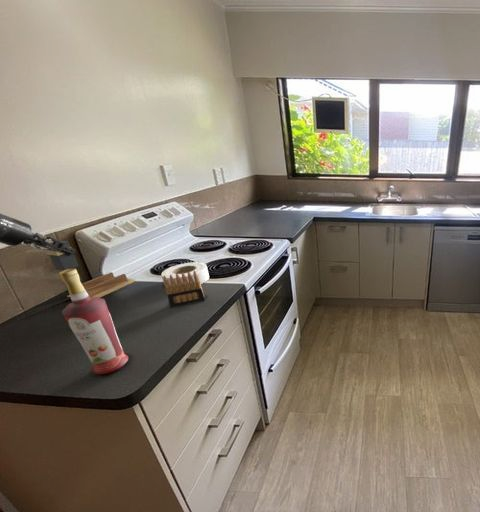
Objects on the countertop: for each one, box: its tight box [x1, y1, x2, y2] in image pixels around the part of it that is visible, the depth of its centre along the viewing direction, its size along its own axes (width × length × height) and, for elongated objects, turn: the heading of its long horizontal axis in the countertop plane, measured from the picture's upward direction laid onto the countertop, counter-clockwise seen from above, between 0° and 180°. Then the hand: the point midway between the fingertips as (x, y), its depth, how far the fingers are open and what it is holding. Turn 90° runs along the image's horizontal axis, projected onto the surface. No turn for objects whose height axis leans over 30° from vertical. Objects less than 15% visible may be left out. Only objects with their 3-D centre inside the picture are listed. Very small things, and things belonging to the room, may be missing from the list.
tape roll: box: [160, 261, 210, 290], centre depth 118 cm, size 16×16×6 cm
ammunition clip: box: [162, 271, 206, 308], centre depth 102 cm, size 11×2×12 cm, turn 117°
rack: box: [66, 271, 135, 300], centre depth 112 cm, size 11×16×4 cm
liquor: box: [58, 268, 129, 375], centre depth 69 cm, size 7×7×28 cm
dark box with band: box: [45, 239, 80, 271], centre depth 95 cm, size 4×4×9 cm
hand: (68, 251), depth 97 cm, fingers closed on dark box with band, 4 cm apart
